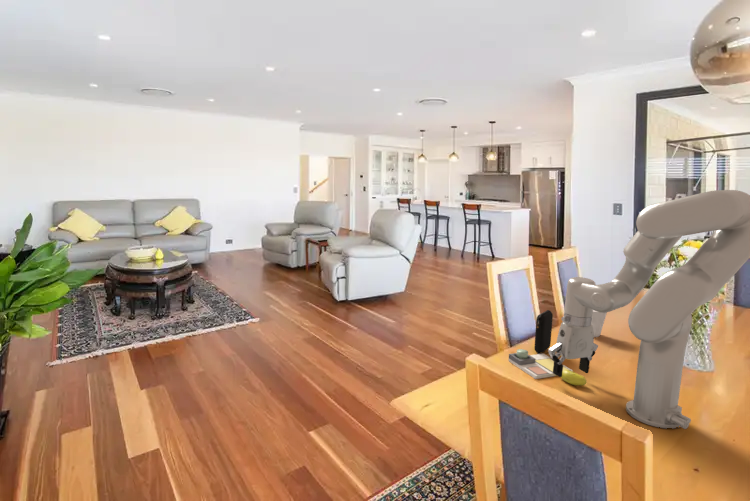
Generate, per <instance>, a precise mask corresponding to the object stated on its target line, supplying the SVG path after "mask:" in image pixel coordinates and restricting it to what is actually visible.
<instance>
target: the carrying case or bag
mask: <svg viewBox="0 0 750 501" xmlns="http://www.w3.org/2000/svg"><path fill="white" fill-rule="evenodd" d="M553 317H554V316H553V313H552V311H551V310H549V309H547V310H544V311H543V312H541V313H539V314H538V315H537V316H536V321H535V332H534V333H535V336H534V347H533V348H534V351H535V352H536V354H543V353H544V352H545V351H548V350H549V349H550V348H551V342H552V330H553V329H552V328H553V320H554V318H553Z"/></svg>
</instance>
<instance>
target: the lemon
mask: <svg viewBox="0 0 750 501" xmlns="http://www.w3.org/2000/svg"><path fill="white" fill-rule="evenodd" d="M560 378H561V379H562V380H563V381H564V382H566V383H568V384H570V385H572V386H577V387H578V386H581V387H582V386H585V385H586V384H587V383H588V382H587V379H586V377H585V376H584V375H582V374H579V373H577V372H575V371H573V372H572V371H569V370H564V371H563V372H562V377H560Z"/></svg>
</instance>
